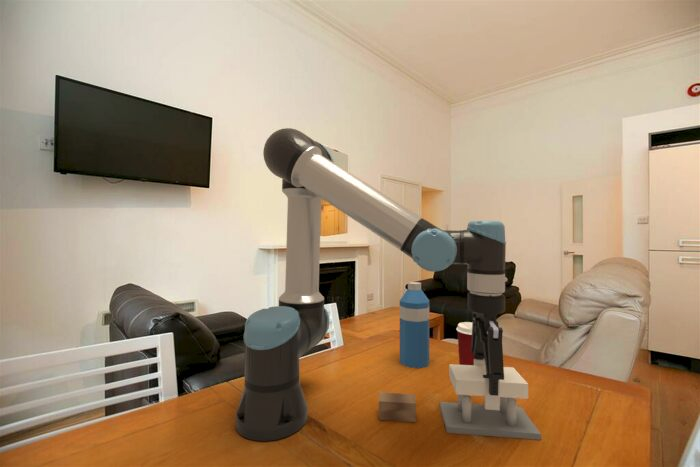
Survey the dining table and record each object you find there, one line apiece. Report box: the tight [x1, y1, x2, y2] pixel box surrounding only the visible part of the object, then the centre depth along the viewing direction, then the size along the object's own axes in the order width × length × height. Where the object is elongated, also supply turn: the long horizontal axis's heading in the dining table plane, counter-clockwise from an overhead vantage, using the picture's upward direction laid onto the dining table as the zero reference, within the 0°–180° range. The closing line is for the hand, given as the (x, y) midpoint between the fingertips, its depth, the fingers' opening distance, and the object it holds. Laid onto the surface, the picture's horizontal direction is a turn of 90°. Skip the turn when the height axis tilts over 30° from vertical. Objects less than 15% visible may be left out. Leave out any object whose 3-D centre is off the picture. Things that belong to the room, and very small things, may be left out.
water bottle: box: [399, 281, 430, 369], centre depth 102 cm, size 9×9×25 cm
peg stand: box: [439, 394, 542, 441], centre depth 70 cm, size 18×10×6 cm, turn 83°
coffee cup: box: [455, 321, 485, 365], centre depth 91 cm, size 8×8×15 cm
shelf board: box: [448, 363, 529, 400], centre depth 70 cm, size 14×8×3 cm, turn 83°
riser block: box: [378, 391, 417, 423], centre depth 72 cm, size 8×4×4 cm, turn 83°
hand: (485, 397), depth 70 cm, fingers closed on shelf board, 8 cm apart
